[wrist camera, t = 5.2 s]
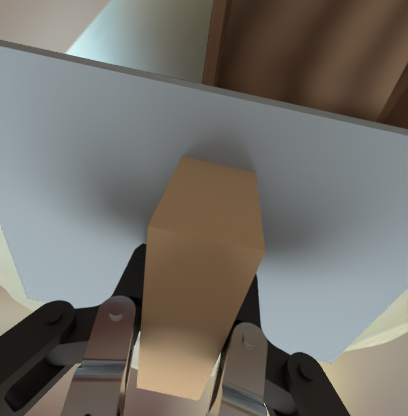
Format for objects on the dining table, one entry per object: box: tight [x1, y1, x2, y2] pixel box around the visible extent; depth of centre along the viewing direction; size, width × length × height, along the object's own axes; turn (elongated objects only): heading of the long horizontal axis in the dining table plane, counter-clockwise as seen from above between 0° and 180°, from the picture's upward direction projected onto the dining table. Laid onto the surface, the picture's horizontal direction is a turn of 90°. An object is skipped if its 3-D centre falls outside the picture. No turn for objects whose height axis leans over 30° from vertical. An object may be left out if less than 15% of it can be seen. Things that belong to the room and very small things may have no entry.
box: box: [202, 0, 408, 129], centre depth 23 cm, size 20×14×7 cm
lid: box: [0, 40, 408, 400], centre depth 11 cm, size 21×15×6 cm
